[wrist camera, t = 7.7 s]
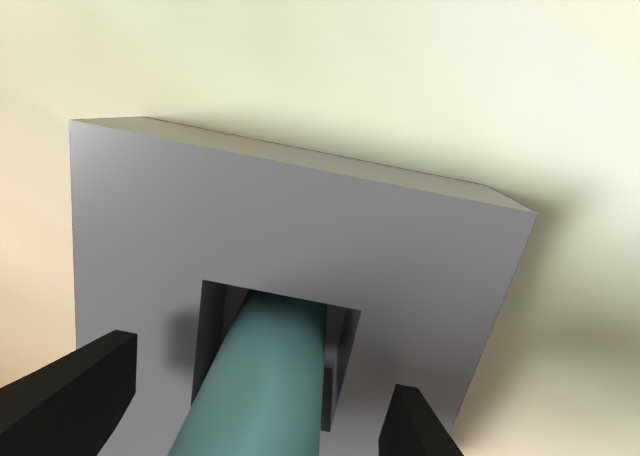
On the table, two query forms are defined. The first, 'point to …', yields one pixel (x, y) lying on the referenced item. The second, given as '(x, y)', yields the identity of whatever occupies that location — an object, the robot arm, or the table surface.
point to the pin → (262, 383)
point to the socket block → (282, 268)
